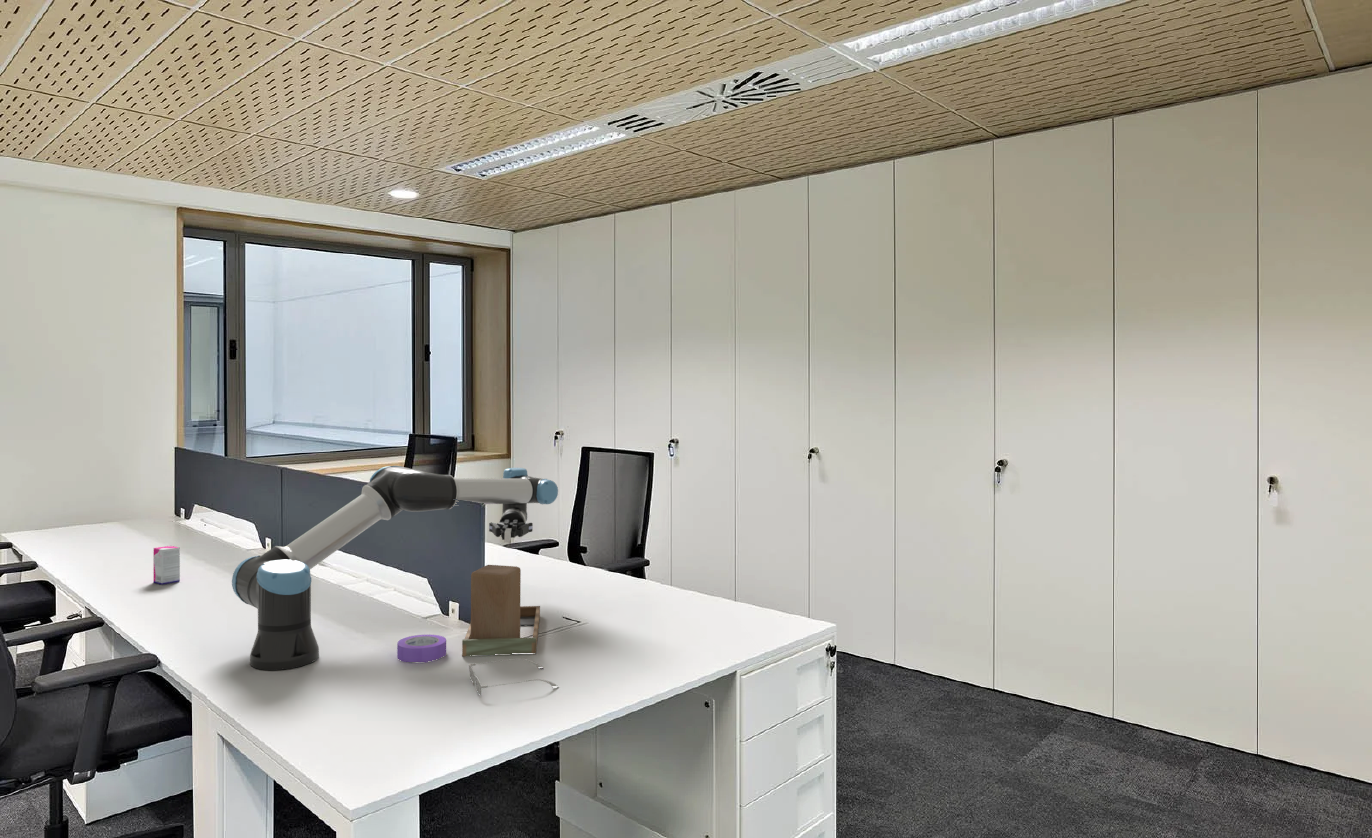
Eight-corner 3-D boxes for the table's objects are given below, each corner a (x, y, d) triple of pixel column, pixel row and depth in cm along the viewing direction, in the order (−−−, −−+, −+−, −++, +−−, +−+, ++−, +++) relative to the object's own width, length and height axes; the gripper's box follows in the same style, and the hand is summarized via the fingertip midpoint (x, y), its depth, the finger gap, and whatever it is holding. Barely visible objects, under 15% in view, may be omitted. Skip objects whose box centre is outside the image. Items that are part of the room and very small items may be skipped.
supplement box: (180, 581, 281) (180, 547, 280) (161, 585, 276) (161, 550, 276) (171, 579, 284) (171, 544, 284) (152, 582, 279) (152, 547, 279)
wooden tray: (535, 654, 215) (535, 638, 215) (462, 656, 212) (462, 640, 212) (540, 616, 249) (540, 602, 248) (476, 617, 246) (476, 603, 246)
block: (505, 653, 216) (506, 574, 215) (469, 649, 218) (469, 572, 217) (521, 641, 225) (522, 565, 224) (486, 638, 228) (486, 563, 226)
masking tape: (407, 647, 219) (407, 633, 219) (452, 649, 219) (452, 634, 219) (389, 663, 207) (389, 647, 207) (437, 664, 207) (437, 649, 207)
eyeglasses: (467, 678, 199) (467, 661, 199) (544, 669, 206) (544, 652, 206) (480, 702, 185) (480, 684, 184) (561, 691, 192) (561, 673, 192)
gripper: (534, 535, 262) (530, 550, 239) (490, 535, 260) (483, 550, 237) (534, 510, 262) (531, 523, 238) (490, 510, 260) (483, 523, 236)
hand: (507, 537), depth 238 cm, fingers closed
